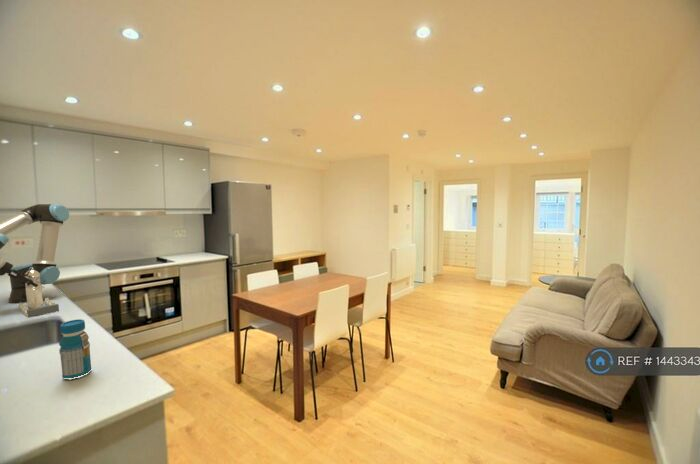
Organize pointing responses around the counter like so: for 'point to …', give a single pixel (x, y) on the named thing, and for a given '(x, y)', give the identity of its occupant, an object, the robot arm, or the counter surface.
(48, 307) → the block
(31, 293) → the water bottle
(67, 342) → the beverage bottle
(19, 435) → the counter surface
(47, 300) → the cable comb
